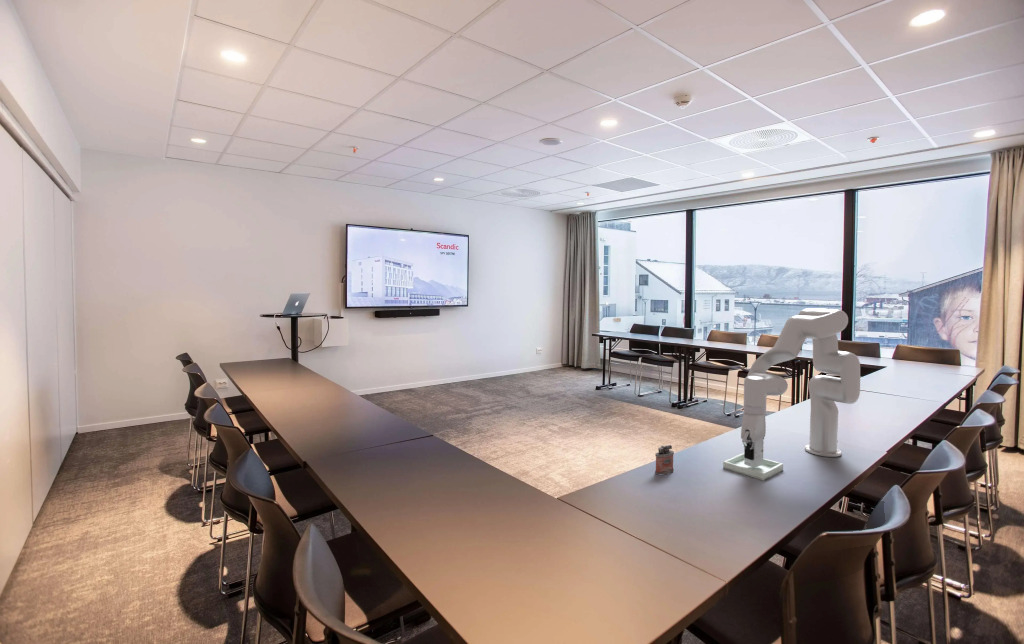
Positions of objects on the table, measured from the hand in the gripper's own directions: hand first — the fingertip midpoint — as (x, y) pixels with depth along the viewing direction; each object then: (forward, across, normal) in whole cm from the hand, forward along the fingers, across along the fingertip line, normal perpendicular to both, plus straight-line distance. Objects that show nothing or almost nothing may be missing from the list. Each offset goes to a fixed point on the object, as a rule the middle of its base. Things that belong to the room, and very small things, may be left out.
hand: (753, 456), depth 179 cm
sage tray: (+5, 0, 0) cm, 5 cm away
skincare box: (+3, 0, 0) cm, 3 cm away
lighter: (+5, +28, -19) cm, 34 cm away
